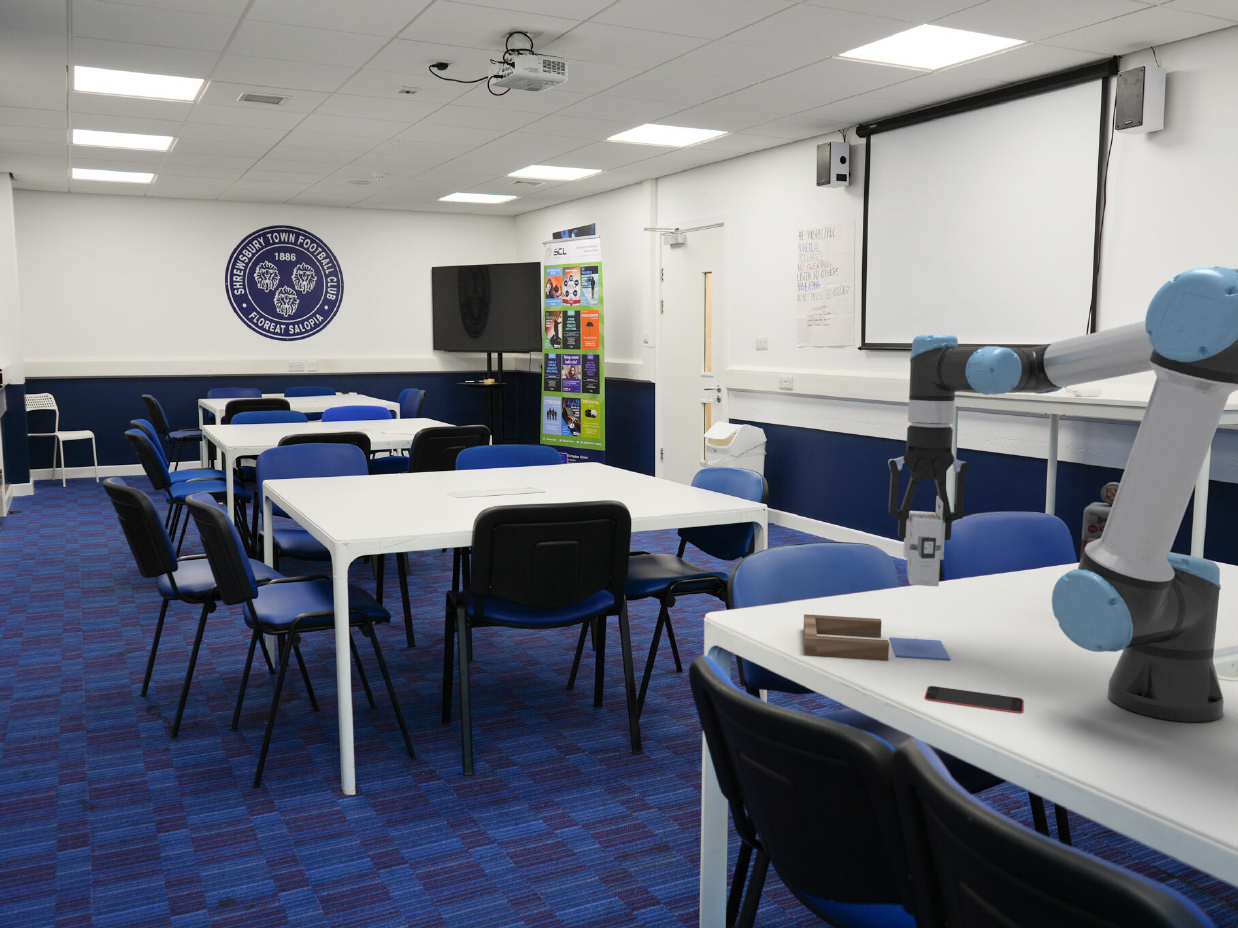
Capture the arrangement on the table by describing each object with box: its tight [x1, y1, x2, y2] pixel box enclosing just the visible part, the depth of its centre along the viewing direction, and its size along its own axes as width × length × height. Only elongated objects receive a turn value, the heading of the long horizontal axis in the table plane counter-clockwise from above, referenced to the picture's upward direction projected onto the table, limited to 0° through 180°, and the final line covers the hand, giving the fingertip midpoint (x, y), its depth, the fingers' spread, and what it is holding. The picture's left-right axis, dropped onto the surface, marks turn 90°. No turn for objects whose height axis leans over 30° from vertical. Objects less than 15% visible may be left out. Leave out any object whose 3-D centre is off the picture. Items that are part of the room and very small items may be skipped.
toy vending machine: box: [1079, 481, 1120, 562], centre depth 190 cm, size 9×11×28 cm
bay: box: [803, 613, 890, 661], centre depth 175 cm, size 16×14×3 cm
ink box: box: [905, 495, 943, 587], centre depth 171 cm, size 9×5×15 cm, turn 169°
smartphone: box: [923, 685, 1025, 715], centre depth 148 cm, size 7×1×14 cm
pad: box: [889, 636, 951, 661], centre depth 173 cm, size 11×9×1 cm
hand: (923, 556), depth 172 cm, fingers closed on ink box, 5 cm apart
